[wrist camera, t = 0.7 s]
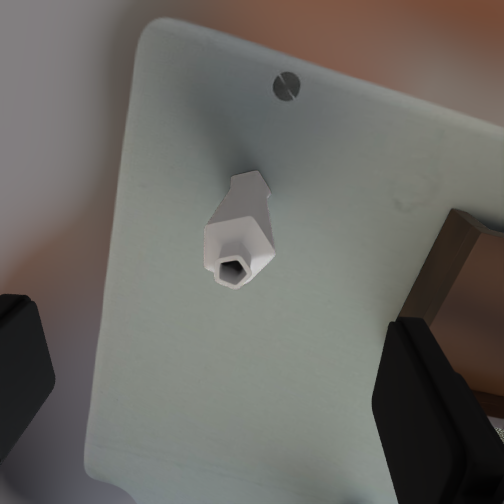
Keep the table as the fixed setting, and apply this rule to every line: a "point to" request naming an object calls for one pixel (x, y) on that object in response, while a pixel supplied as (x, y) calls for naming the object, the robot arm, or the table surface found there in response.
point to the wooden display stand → (466, 306)
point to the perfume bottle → (240, 232)
